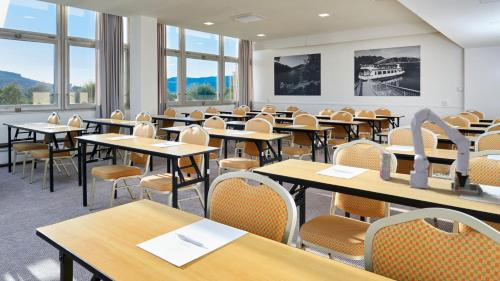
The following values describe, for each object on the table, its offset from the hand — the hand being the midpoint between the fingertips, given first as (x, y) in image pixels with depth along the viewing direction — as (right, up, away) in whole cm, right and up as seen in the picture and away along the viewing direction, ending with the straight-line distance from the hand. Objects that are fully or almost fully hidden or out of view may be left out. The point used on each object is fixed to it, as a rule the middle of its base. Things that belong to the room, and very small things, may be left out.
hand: (461, 186), depth 199 cm
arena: (+3, -3, 0) cm, 4 cm away
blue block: (0, -2, 0) cm, 2 cm away
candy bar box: (-29, +1, +34) cm, 45 cm away
